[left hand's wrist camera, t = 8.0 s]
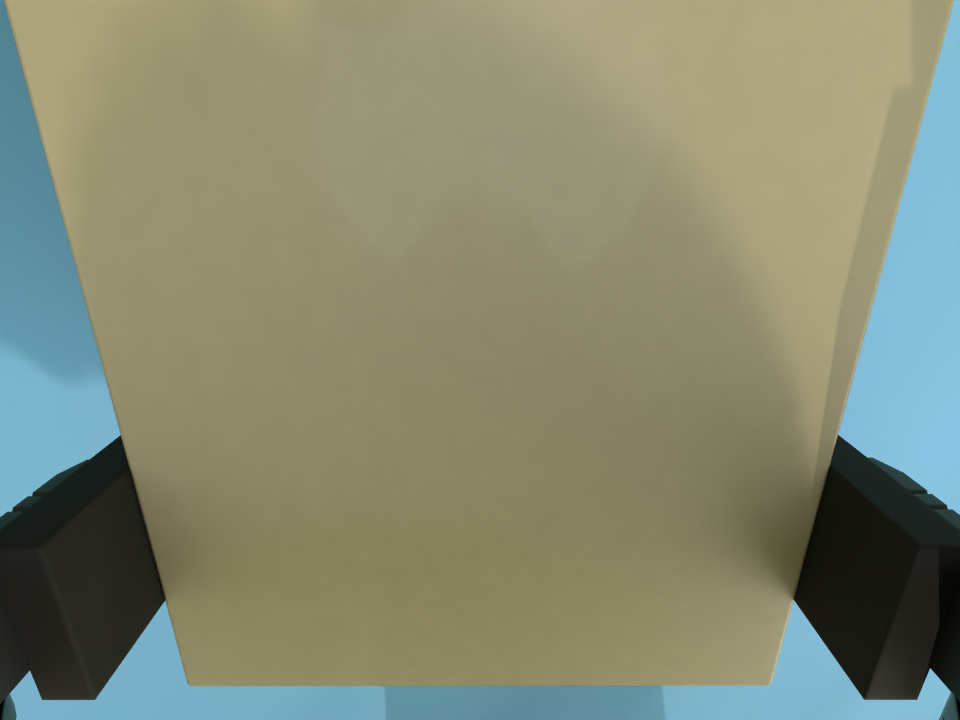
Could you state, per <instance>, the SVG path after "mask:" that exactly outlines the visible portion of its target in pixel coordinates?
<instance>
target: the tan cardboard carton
mask: <svg viewBox="0 0 960 720" xmlns="http://www.w3.org/2000/svg"><path fill="white" fill-rule="evenodd" d="M4 2H5V6H6V9H7V13H8V17H9V20H10V24H11V28H12V32H13V35H14V39H15V43H16V46H17V50H18V54H19V58H20V61H21V65H22V69H23V73H24V76H25V80H26V84H27V87H28V91H29V95H30V99H31V102H32V106H33V110H34V113H35V117H36V121H37V125H38V128H39V132H40V136H41V140H42V143H43V147H44V151H45V154H46V158H47V162H48V166H49V169H50V173H51V177H52V180H53V184H54V188H55V192H56V195H57V199H58V203H59V207H60V210H61V214H62V218H63V221H64V225H65V229H66V233H67V236H68V240H69V244H70V247H71V251H72V255H73V259H74V262H75V266H76V270H77V273H78V277H79V281H80V285H81V288H82V292H83V296H84V300H85V303H86V307H87V311H88V314H89V318H90V322H91V326H92V329H93V333H94V337H95V340H96V344H97V348H98V352H99V355H100V359H101V363H102V367H103V370H104V374H105V378H106V381H107V385H108V389H109V393H110V396H111V400H112V404H113V407H114V411H115V415H116V419H117V422H118V426H119V430H120V434H121V437H122V441H123V445H124V448H125V452H126V456H127V460H128V463H129V467H130V471H131V474H132V478H133V482H134V486H135V489H136V493H137V497H138V500H139V504H140V508H141V512H142V515H143V519H144V523H145V527H146V530H147V534H148V538H149V541H150V545H151V549H152V553H153V556H154V560H155V564H156V567H157V571H158V575H159V579H160V582H161V586H162V590H163V594H164V597H165V601H166V605H167V608H168V612H169V616H170V620H171V623H172V627H173V631H174V634H175V638H176V642H177V646H178V649H179V653H180V657H181V661H182V664H183V668H184V672H185V675H186V679H187V683H188V684H189V685H190V686H628V685H769V684H771V683H772V679H773V676H774V672H775V668H776V664H777V661H778V657H779V653H780V649H781V646H782V642H783V638H784V635H785V631H786V627H787V623H788V620H789V616H790V612H791V608H792V605H793V601H794V597H795V593H796V590H797V586H798V582H799V578H800V575H801V571H802V567H803V563H804V560H805V556H806V552H807V548H808V545H809V541H810V537H811V533H812V530H813V526H814V522H815V519H816V515H817V511H818V507H819V504H820V500H821V496H822V492H823V489H824V485H825V481H826V477H827V474H828V470H829V466H830V462H831V459H832V455H833V451H834V447H835V444H836V440H837V436H838V432H839V429H840V425H841V421H842V418H843V414H844V410H845V406H846V403H847V399H848V395H849V391H850V388H851V384H852V380H853V376H854V373H855V369H856V365H857V361H858V358H859V354H860V350H861V346H862V343H863V339H864V335H865V331H866V328H867V324H868V320H869V317H870V313H871V309H872V305H873V302H874V298H875V294H876V290H877V287H878V283H879V279H880V275H881V272H882V268H883V264H884V260H885V257H886V253H887V249H888V245H889V242H890V238H891V234H892V230H893V227H894V223H895V219H896V215H897V212H898V208H899V204H900V201H901V197H902V193H903V189H904V186H905V182H906V178H907V174H908V171H909V167H910V163H911V159H912V156H913V152H914V148H915V144H916V141H917V137H918V133H919V129H920V126H921V122H922V118H923V114H924V111H925V107H926V103H927V100H928V96H929V92H930V88H931V85H932V81H933V77H934V73H935V70H936V66H937V62H938V58H939V55H940V51H941V47H942V43H943V40H944V36H945V32H946V28H947V25H948V21H949V17H950V13H951V10H952V6H953V2H954V0H4Z"/></svg>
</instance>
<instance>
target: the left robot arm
mask: <svg viewBox="0 0 960 720" xmlns="http://www.w3.org/2000/svg"><path fill="white" fill-rule="evenodd" d="M164 601H165V597H164V594H163V590H162V586H161V582H160V579H159V575H158V571H157V567H156V564H155V560H154V556H153V553H152V549H151V545H150V541H149V538H148V534H147V530H146V527H145V523H144V519H143V515H142V512H141V508H140V504H139V500H138V497H137V493H136V489H135V486H134V482H133V478H132V474H131V471H130V467H129V463H128V460H127V456H126V452H125V448H124V445H123V441H122V437H121V435H120V436H119V437H118V438H117V439H115V440H114V441H113V442H111V443H110V444H109V445H108V446H106V447H105V448H104V449H103V450H101V451H100V452H99V453H97V454H96V455H95V456H94V457H92V458H91V459H90V460H86V461H84V462H82V463H80V464H77V465H75V466H73V467H71V468H69V469H67V470H65V471H63V472H61V473H59V474H57V475H56V476H54V477H53V478H52V479H50V480H49V481H48V482H46V483H45V484H44V485H42V486H41V487H40V488H38V489H37V490H36V491H34V492H33V495H32V496H28V497H26V498H25V499H24V500H23V501H21V502H20V503H19V504H17V505H16V506H15V507H13V511H12V512H7V513H5V514H4V515H3V516H1V517H0V720H16V711H15V706H14V703H13V700H12V698H11V696H10V694H9V693H10V692H11V691H12V690H13V689H14V688H15V687H16V685H17V684H18V683H19V682H20V681H21V680H22V679H23V677H24V676H25V675H26V674H27V673H28V672H29V671H31V674H32V676H33V679H34V681H35V683H36V686H37V688H38V691H39V693H40V696H41V698H42V700H95V699H96V698H97V696H98V695H99V693H100V692H101V691H102V689H103V688H104V686H105V685H106V683H107V682H108V681H109V679H110V678H111V676H112V675H113V674H114V672H115V671H116V669H117V668H118V666H119V665H120V664H121V662H122V661H123V659H124V658H125V656H126V655H127V654H128V652H129V651H130V649H131V648H132V647H133V645H134V644H135V642H136V641H137V639H138V638H139V637H140V635H141V634H142V632H143V631H144V630H145V628H146V627H147V625H148V624H149V622H150V621H151V620H152V618H153V617H154V615H155V614H156V612H157V611H158V610H159V608H160V607H161V605H162V604H163V603H164ZM794 601H795V602H796V603H797V605H798V606H799V608H800V609H801V611H802V612H803V613H804V615H805V616H806V618H807V619H808V620H809V622H810V623H811V625H812V626H813V628H814V629H815V630H816V632H817V633H818V635H819V636H820V637H821V639H822V640H823V642H824V643H825V645H826V646H827V647H828V649H829V650H830V652H831V653H832V654H833V656H834V657H835V659H836V660H837V662H838V663H839V664H840V666H841V667H842V669H843V670H844V672H845V673H846V674H847V676H848V677H849V679H850V680H851V681H852V683H853V684H854V686H855V687H856V689H857V690H858V691H859V693H860V694H861V696H862V697H863V698H864V700H917V698H918V696H919V694H920V691H921V689H922V686H923V684H924V681H925V679H926V677H927V674H928V672H929V669H930V668H931V669H932V670H933V672H934V673H935V674H936V675H937V676H938V677H939V678H940V680H941V681H942V682H943V683H944V684H945V685H946V686H947V688H948V689H949V690H950V691H951V694H950V696H949V698H948V700H947V703H946V705H945V707H944V710H943V712H942V714H941V716H940V719H939V720H960V515H959V514H958V513H956V512H955V511H954V510H948V509H947V505H946V504H944V503H943V502H942V501H940V500H939V499H938V498H936V497H935V496H934V495H932V494H928V493H927V490H926V489H924V488H923V487H922V486H920V485H919V484H918V483H916V482H915V481H914V480H912V479H911V478H910V477H908V476H907V475H906V474H904V473H903V472H901V471H899V470H897V469H895V468H893V467H891V466H889V465H886V464H884V463H882V462H880V461H878V460H876V459H874V458H867V457H866V456H864V455H863V454H862V453H861V452H859V451H858V450H857V449H856V448H854V447H853V446H852V445H850V444H849V443H848V442H847V441H845V440H844V439H843V438H841V437H840V436H839V435H838V436H837V440H836V444H835V447H834V451H833V455H832V459H831V462H830V466H829V470H828V474H827V477H826V481H825V485H824V489H823V492H822V496H821V500H820V504H819V507H818V511H817V515H816V519H815V522H814V526H813V530H812V533H811V537H810V541H809V545H808V548H807V552H806V556H805V560H804V563H803V567H802V571H801V575H800V578H799V582H798V586H797V590H796V593H795V597H794Z"/></svg>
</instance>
